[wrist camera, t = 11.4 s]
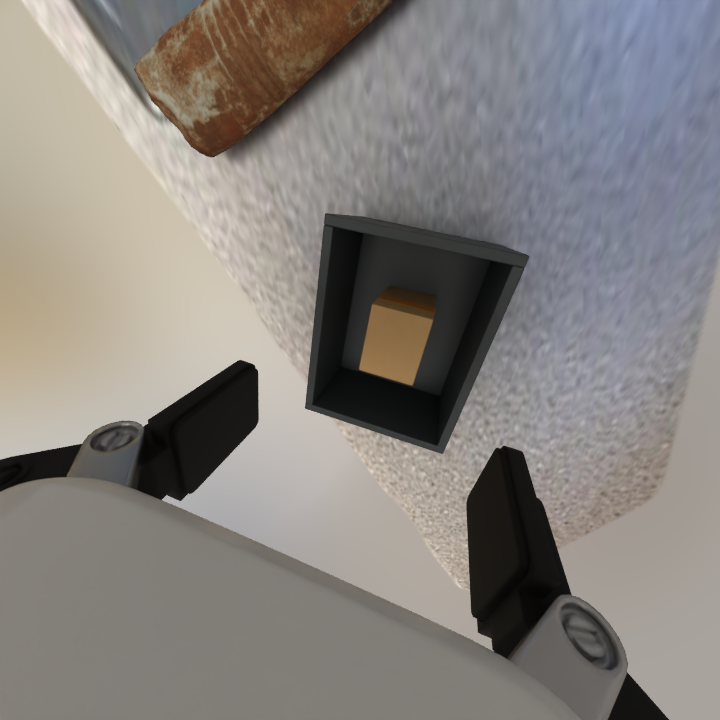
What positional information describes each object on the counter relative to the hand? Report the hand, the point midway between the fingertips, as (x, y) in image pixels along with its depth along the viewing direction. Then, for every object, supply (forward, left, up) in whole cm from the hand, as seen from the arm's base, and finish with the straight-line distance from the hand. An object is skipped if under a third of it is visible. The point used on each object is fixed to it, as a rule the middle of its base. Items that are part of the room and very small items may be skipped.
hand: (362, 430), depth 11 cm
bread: (-17, -12, -17) cm, 27 cm away
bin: (0, 0, -16) cm, 16 cm away
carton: (0, 0, -16) cm, 16 cm away
